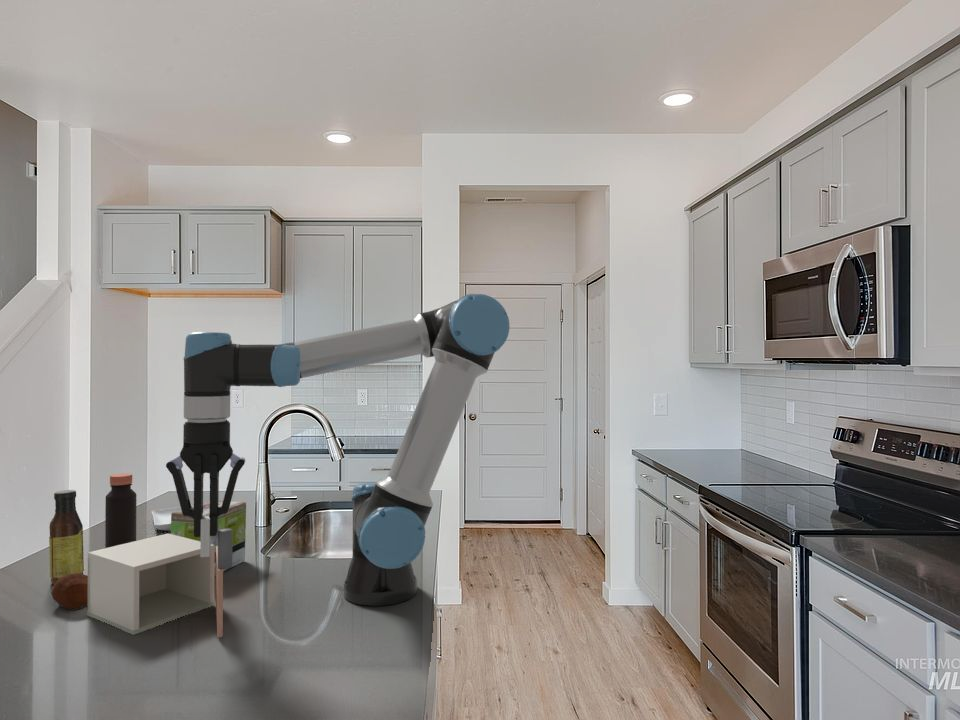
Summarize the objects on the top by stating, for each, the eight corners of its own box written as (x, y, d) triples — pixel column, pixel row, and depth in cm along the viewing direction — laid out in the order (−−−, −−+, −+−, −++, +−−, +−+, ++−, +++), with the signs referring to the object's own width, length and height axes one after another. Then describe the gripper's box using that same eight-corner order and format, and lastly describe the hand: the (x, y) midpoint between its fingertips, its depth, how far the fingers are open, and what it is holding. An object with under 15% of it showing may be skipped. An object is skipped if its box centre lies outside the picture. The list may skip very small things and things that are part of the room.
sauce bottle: (90, 579, 139) (90, 490, 140) (61, 588, 134) (61, 495, 134) (71, 575, 142) (71, 487, 142) (42, 583, 137) (42, 492, 137)
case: (214, 605, 124) (214, 545, 124) (133, 634, 111) (133, 567, 111) (167, 590, 133) (168, 533, 133) (87, 615, 119) (87, 552, 119)
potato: (54, 617, 119) (54, 583, 119) (49, 603, 126) (49, 570, 126) (97, 608, 123) (97, 575, 123) (89, 594, 130) (90, 563, 130)
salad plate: (154, 536, 176) (154, 524, 176) (151, 520, 194) (151, 509, 194) (234, 526, 186) (234, 515, 186) (224, 512, 205) (224, 501, 205)
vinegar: (137, 549, 162) (137, 472, 162) (135, 556, 156) (135, 476, 156) (106, 552, 159) (107, 473, 159) (103, 560, 153) (104, 478, 153)
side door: (215, 604, 124) (215, 513, 124) (228, 603, 125) (228, 511, 125) (217, 637, 109) (218, 533, 109) (232, 635, 110) (232, 531, 110)
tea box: (208, 582, 138) (208, 514, 138) (168, 578, 140) (168, 512, 140) (246, 561, 153) (247, 500, 153) (210, 558, 155) (210, 498, 155)
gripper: (247, 417, 116) (246, 545, 115) (170, 419, 112) (168, 551, 111) (245, 421, 108) (243, 557, 108) (162, 422, 105) (160, 564, 104)
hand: (205, 554), depth 110 cm, fingers closed
